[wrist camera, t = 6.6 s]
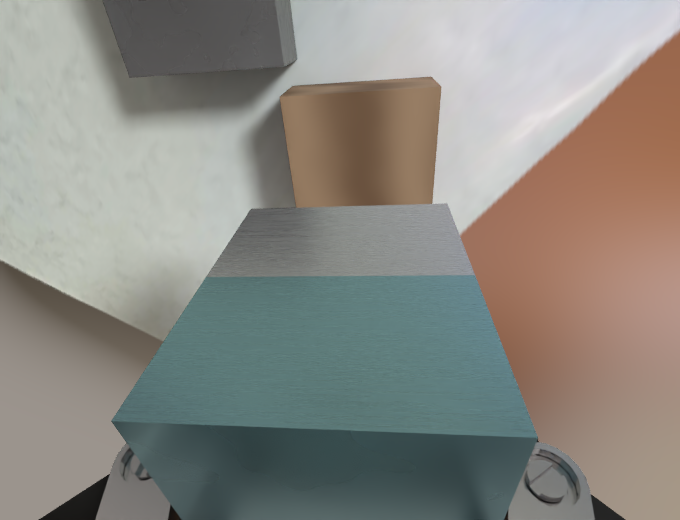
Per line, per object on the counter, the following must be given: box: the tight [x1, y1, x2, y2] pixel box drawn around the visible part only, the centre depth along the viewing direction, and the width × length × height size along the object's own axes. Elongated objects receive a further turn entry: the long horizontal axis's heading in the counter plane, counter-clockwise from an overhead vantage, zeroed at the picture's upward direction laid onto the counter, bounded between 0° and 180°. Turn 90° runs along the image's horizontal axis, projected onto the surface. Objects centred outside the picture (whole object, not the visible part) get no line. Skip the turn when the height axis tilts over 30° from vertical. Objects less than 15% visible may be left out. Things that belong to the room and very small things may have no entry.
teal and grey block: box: [112, 204, 538, 520], centre depth 9 cm, size 8×5×6 cm, turn 4°
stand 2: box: [280, 77, 441, 208], centre depth 24 cm, size 9×9×4 cm
